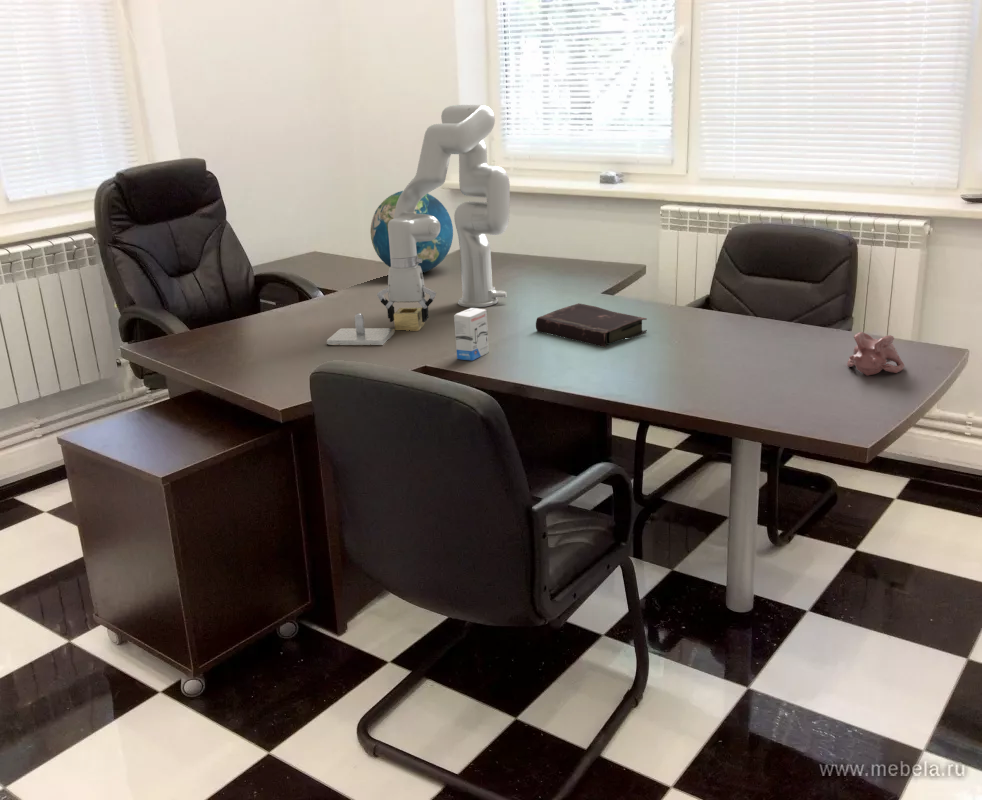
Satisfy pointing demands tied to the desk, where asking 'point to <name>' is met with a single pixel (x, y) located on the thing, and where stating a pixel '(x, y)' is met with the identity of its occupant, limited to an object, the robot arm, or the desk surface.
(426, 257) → the globe
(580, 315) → the diary
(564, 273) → the desk surface
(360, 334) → the post block
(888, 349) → the figurine
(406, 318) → the tan block
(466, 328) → the ink box
